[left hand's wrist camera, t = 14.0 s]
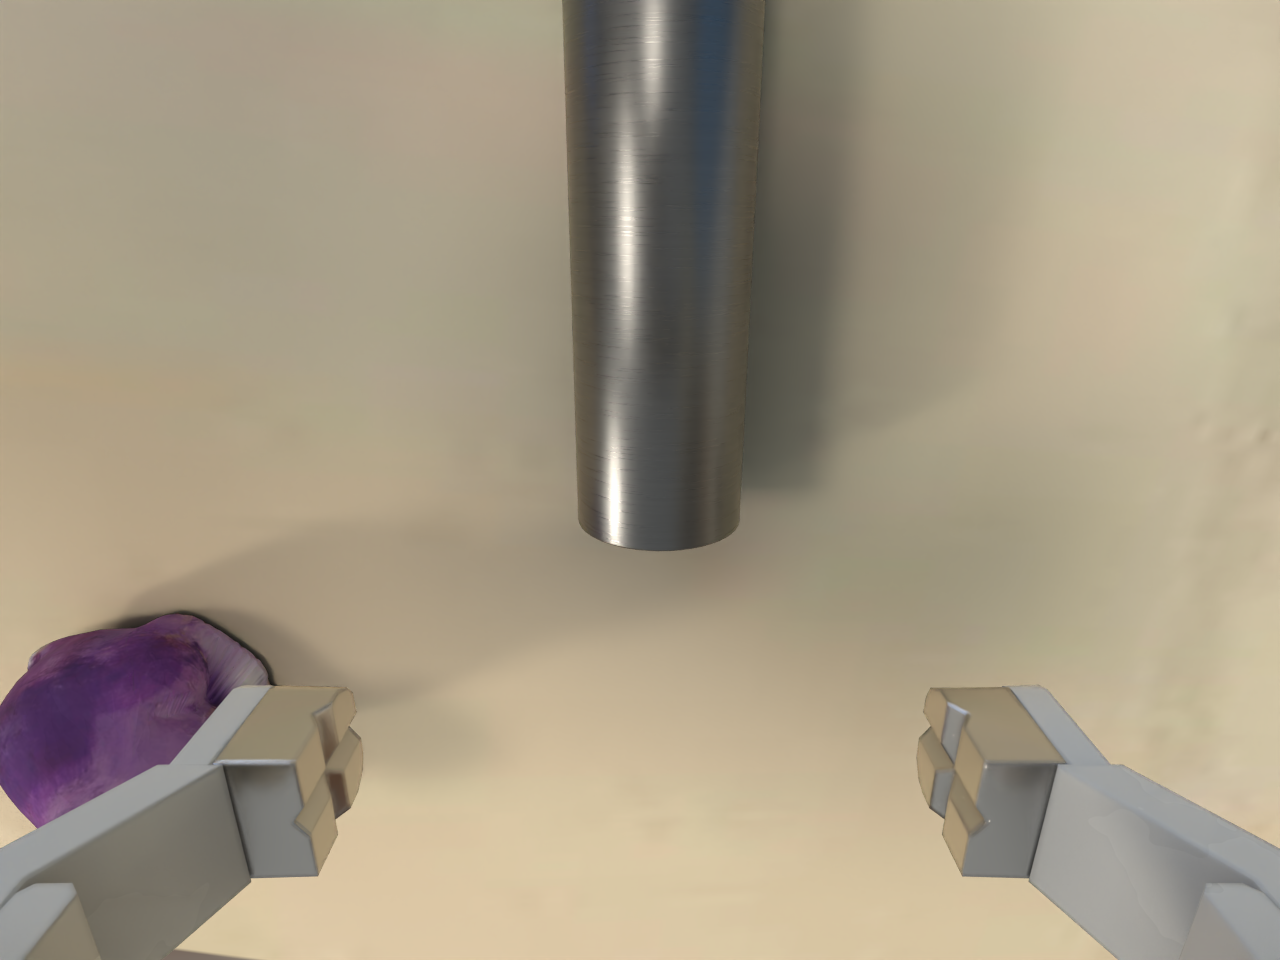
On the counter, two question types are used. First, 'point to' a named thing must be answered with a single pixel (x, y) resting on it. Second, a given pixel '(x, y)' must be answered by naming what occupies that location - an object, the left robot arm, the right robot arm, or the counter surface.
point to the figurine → (112, 708)
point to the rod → (661, 261)
